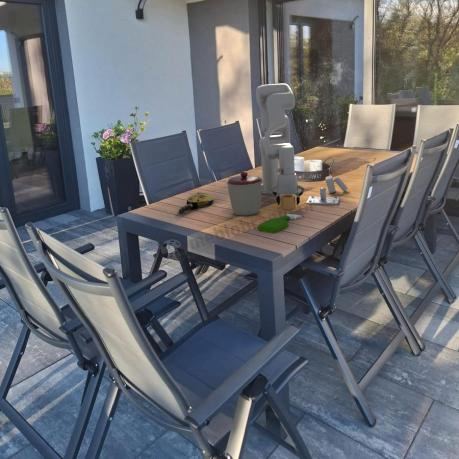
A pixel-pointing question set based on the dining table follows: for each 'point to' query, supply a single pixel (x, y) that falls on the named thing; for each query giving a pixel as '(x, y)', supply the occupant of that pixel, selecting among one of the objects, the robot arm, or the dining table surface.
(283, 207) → the tan hollow octagonal block
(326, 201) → the keeper
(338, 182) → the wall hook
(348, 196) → the dining table surface
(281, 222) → the spray bottle
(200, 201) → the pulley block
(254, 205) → the canister
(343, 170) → the dining table surface
